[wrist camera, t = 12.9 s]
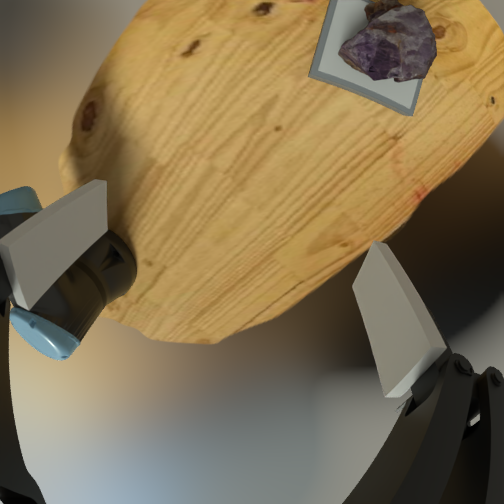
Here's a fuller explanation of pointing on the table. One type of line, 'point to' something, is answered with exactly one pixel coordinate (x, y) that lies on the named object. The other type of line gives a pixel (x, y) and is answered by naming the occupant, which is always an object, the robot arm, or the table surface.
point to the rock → (392, 43)
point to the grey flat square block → (344, 76)
